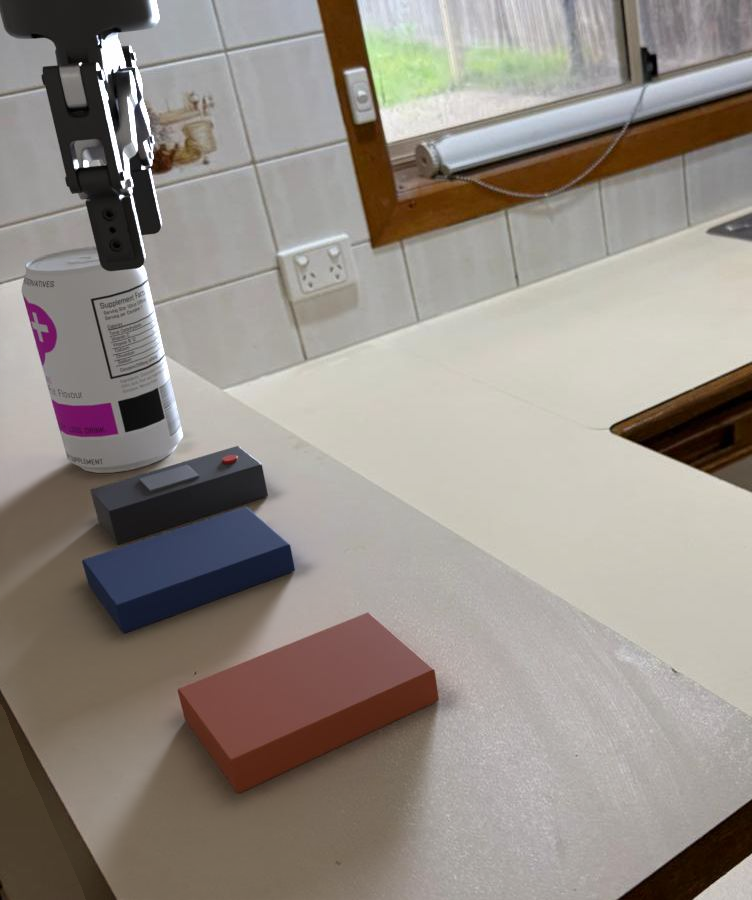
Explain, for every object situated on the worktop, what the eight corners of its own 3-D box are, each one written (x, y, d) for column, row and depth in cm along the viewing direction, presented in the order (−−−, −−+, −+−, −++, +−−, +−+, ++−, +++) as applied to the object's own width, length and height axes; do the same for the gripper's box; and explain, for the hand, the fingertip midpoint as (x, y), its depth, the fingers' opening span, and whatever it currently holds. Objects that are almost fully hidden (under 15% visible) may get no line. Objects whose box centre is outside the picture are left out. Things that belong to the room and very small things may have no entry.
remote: (117, 545, 72) (107, 508, 71) (98, 522, 75) (88, 486, 74) (268, 496, 77) (261, 461, 76) (244, 476, 80) (237, 442, 79)
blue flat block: (88, 586, 67) (81, 559, 66) (251, 530, 72) (246, 505, 72) (123, 634, 62) (115, 606, 61) (295, 571, 67) (290, 544, 66)
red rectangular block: (184, 719, 54) (176, 688, 54) (373, 640, 60) (368, 611, 59) (238, 794, 49) (230, 760, 48) (439, 700, 55) (435, 669, 54)
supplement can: (71, 486, 81) (14, 279, 75) (69, 446, 88) (17, 254, 82) (190, 461, 84) (144, 260, 78) (179, 424, 90) (136, 237, 84)
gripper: (14, -59, 63) (84, 231, 69) (-57, -66, 50) (38, 290, 57) (156, -67, 64) (212, 218, 71) (123, -76, 52) (194, 272, 58)
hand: (135, 250), depth 64 cm, fingers open, 8 cm apart
